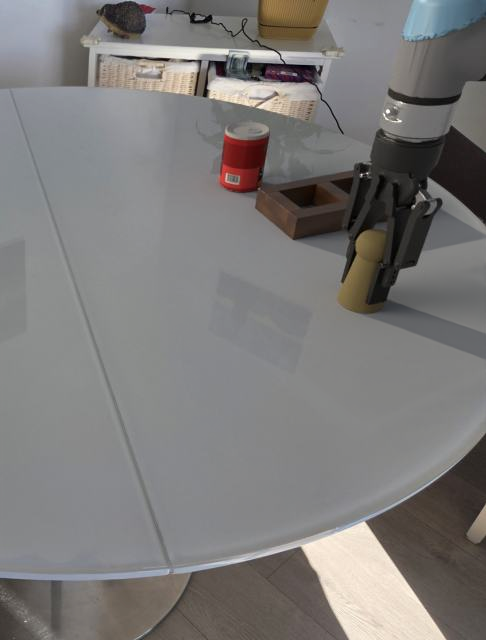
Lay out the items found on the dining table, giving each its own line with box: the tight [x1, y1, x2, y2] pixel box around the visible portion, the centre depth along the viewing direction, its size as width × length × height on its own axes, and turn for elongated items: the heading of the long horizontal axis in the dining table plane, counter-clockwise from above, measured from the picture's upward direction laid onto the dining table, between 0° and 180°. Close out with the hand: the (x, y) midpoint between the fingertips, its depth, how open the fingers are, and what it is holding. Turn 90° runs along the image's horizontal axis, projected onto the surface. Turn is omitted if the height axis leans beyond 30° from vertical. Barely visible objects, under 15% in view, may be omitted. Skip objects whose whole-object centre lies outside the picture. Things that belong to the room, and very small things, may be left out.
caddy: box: [254, 169, 400, 241], centre depth 112 cm, size 12×22×4 cm, turn 104°
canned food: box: [218, 121, 271, 193], centre depth 121 cm, size 8×8×11 cm
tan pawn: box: [337, 228, 387, 314], centre depth 89 cm, size 6×6×11 cm
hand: (362, 291), depth 91 cm, fingers closed on tan pawn, 5 cm apart
